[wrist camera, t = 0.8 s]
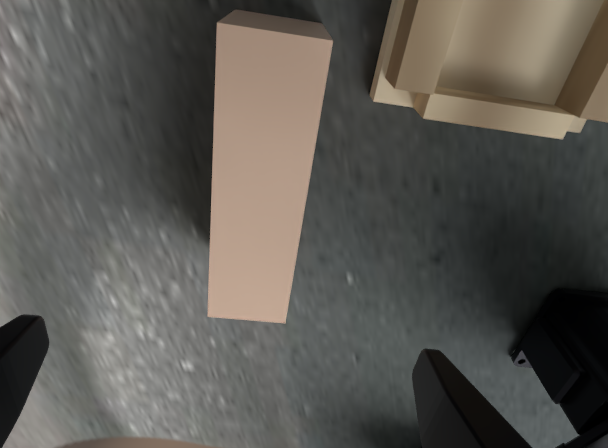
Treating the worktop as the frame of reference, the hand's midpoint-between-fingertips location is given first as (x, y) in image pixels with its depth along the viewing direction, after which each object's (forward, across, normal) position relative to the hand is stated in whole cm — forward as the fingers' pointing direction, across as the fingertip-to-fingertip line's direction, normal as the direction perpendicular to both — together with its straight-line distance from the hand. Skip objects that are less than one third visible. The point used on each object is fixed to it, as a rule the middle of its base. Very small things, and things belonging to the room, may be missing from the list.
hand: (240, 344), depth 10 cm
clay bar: (+12, 0, 0) cm, 12 cm away
